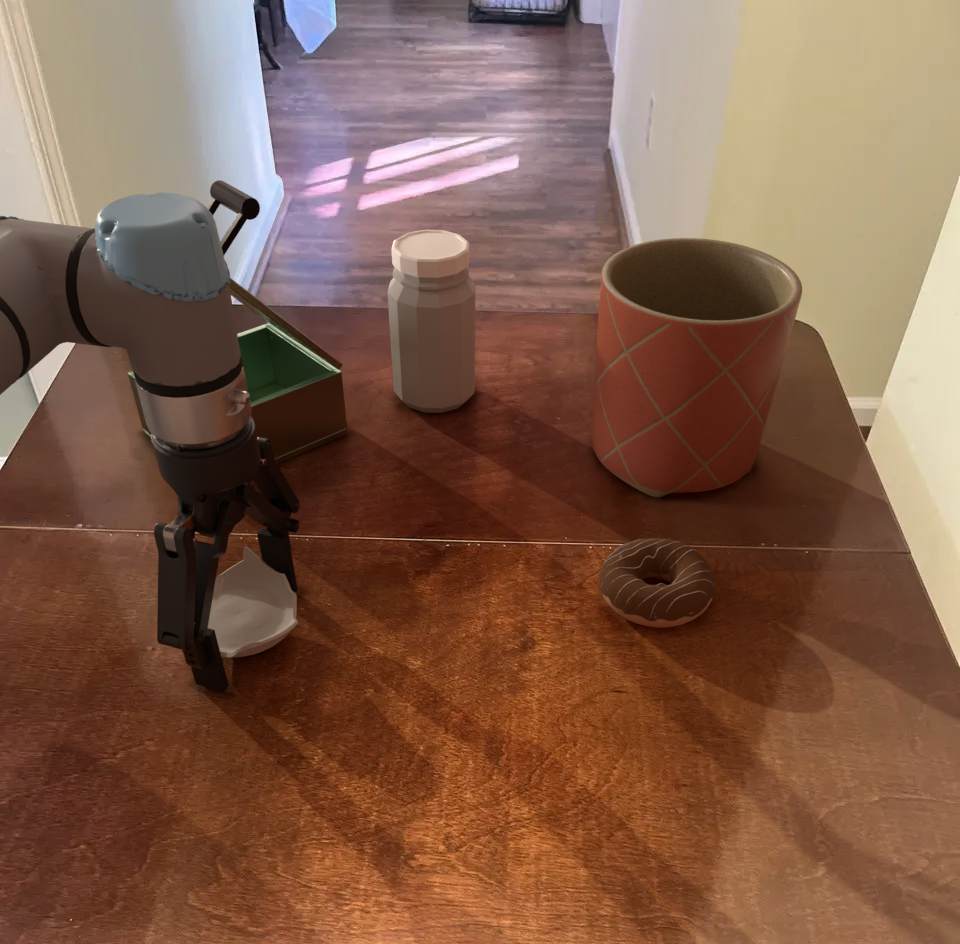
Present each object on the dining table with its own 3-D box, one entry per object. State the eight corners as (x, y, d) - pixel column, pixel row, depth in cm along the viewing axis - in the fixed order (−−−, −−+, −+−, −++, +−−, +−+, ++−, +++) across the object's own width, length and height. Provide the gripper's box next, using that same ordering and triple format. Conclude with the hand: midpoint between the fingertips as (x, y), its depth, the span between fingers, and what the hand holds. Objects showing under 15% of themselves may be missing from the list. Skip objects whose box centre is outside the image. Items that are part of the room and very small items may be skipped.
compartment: (209, 493, 102) (194, 428, 97) (144, 434, 110) (127, 371, 105) (348, 434, 111) (341, 371, 105) (278, 383, 118) (268, 322, 113)
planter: (641, 524, 99) (668, 340, 85) (554, 429, 111) (566, 255, 98) (795, 479, 105) (845, 300, 91) (697, 394, 117) (727, 225, 103)
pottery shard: (238, 582, 92) (230, 540, 89) (342, 616, 89) (337, 574, 86) (171, 653, 85) (159, 611, 82) (280, 692, 82) (272, 650, 79)
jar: (377, 393, 117) (365, 242, 104) (439, 366, 122) (435, 218, 109) (430, 426, 112) (424, 271, 99) (492, 396, 117) (495, 245, 104)
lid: (214, 276, 90) (264, 198, 89) (140, 227, 97) (185, 155, 96) (339, 370, 105) (382, 304, 104) (266, 321, 113) (306, 260, 112)
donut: (720, 638, 87) (728, 605, 84) (601, 636, 87) (605, 603, 85) (703, 561, 95) (710, 528, 92) (593, 559, 95) (597, 526, 92)
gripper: (155, 531, 63) (217, 746, 78) (320, 354, 79) (345, 560, 94) (55, 508, 65) (135, 723, 80) (237, 340, 81) (275, 544, 96)
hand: (249, 635), depth 87 cm, fingers open, 12 cm apart
